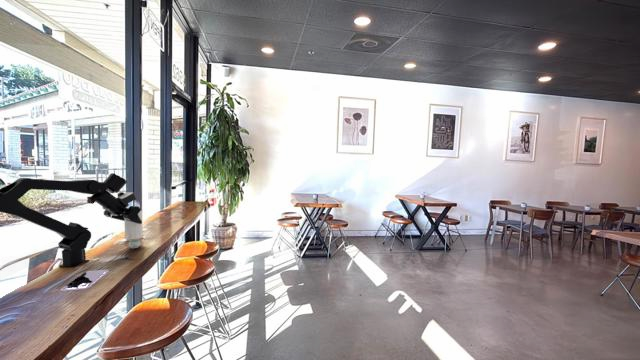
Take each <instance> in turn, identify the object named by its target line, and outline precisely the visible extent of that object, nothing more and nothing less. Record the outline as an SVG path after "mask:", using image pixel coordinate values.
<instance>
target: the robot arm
mask: <svg viewBox="0 0 640 360" xmlns="http://www.w3.org/2000/svg"><path fill="white" fill-rule="evenodd" d="M127 182H128V181H127V180H126V179H125V178H124V177H122V176H121V175H118V174H116V173H114V172H112V173H110V174H109V175H108V176H107V178H105V180H104V181H103V182H102V181H98V180H96V179H90V178H89V179H87V178H86V179H83V178H82V179H74V180H73V179H72V180H58V179H56V180H55V179H43V178H41V179H39V178H38V179H37V178H31V177H19V178H17V179H16V180H15V181H13V182H12V183H9V184H7V185H4V186H3V187H1V188H0V213H2V214H3V213H4V214H7V215H11V216H14V217H17V218H20V219H22V220H25V221H27V222H29V223H31V224H35V225H36V226H39V227H42V228H44V229H47V230H48V231H50V232H54V233H56V234H57V235H59V236H60V237H61V238H62V239H61V240H60V241H59V242H58V244H57V245H58V247H59V248H60V249H61V255H62V257H61V258H62V259H61V260H62V264H59V265H58V267H59V268H76V267H78V266H81V265H84V264H85V263H88V262H90V260H89V259H86V258H87V257H86V248H87V246H88V243H89V242H90V240H91V238H92V232H91V231H90V230H89V227H85V226H82V225H81V224H80V223H76V222H71V221H69V223H68V224H67V223H64V222H62V221H59V220H57V219H55V218H53V217H51V216H49V215H46V214H44V213H41V212H39V211H36V210H35V209H32V208H30V207H28V206H27V205H25V204H23V203H22V202H21V200H20V199H21V198H22V197H23V196H24V195H26V193H28V192H29V191H31V190H37V191H41V190H43V191H44V190H45V191H67V192H74V193H77V194H78V193H79V194H83V195H85V194H87V195H90V196H87V197H86V199H87V201H86V203H87V204H90V205H93V204H95V203H97V204H98V205H99V206H101V207H102V209H103V216H104V217H107V218H111V219H115V220H118V221H123V222H124V219H126V220H127V221H130V222H134V223H138V224H141V223H142V224H143V220H142V221H141V219H140V218H139V216H138V213H139V212H140V211H142V208H141V207H140V206H138V205H130V204H129V203H131V202H133V201H136V200H137V197H136V195H135V193H134V192H133V191H132V192H131V191H128V192H123V191H121V189H122V188H124V186H125V185H126V184H127ZM115 193H117V197H116V196H115V195H113V194H115ZM62 249H63V250H62Z"/></svg>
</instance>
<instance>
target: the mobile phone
mask: <svg viewBox="0 0 640 360" xmlns="http://www.w3.org/2000/svg"><path fill="white" fill-rule="evenodd" d="M109 272H110V271H109V269H100V270H99V269H98V270H88V271H85V272H84V273H82V274H81V275H80V274H79V276H78V277H76V278H74V279H73V280H72V281H70V282H69V283H67V284H66V285H64V286H63V287H62V288H60V291H61V292H65V291H77V290H86V289H89V288H90V287H91V286H92V285H94V284H96V282H97V281H99V280H101V278H103V277H104V276H105V275H106V274H108V273H109Z"/></svg>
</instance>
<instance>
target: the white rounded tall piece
mask: <svg viewBox="0 0 640 360" xmlns="http://www.w3.org/2000/svg"><path fill="white" fill-rule="evenodd" d="M142 213H143V212H142V210H141V211H140V212H139V213H138V216H139V218H140V219H141V221H142V223H141V224H138V223H134V222H130V221H127V220H126V219H124V221H123V222H124V238H125V240H136V239H141V238H143V237H144V234H143V215H142Z"/></svg>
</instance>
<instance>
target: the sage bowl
mask: <svg viewBox="0 0 640 360" xmlns="http://www.w3.org/2000/svg"><path fill="white" fill-rule="evenodd" d="M141 245H142V244H141V239H140V238H138V239H130V240H129V241H128V247H129V248H130V249H137V248H139V247H141Z"/></svg>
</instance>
